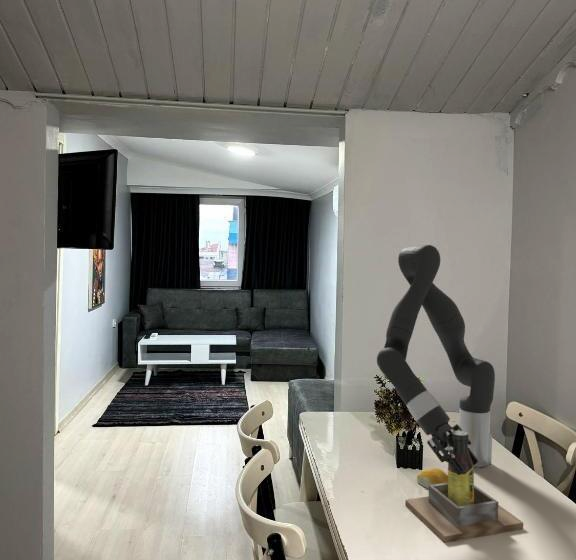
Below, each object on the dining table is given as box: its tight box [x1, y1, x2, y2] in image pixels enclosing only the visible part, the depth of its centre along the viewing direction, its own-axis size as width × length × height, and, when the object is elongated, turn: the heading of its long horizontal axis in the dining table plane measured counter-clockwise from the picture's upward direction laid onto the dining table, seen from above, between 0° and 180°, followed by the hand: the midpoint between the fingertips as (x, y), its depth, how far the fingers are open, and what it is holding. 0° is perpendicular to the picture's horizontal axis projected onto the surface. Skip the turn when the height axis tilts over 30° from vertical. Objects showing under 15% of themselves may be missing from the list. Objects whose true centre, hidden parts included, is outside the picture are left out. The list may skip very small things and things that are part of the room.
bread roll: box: [416, 467, 448, 489], centre depth 149 cm, size 8×9×4 cm
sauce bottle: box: [447, 431, 475, 507], centre depth 130 cm, size 7×6×20 cm
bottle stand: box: [405, 483, 524, 543], centre depth 130 cm, size 22×18×6 cm
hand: (468, 468), depth 128 cm, fingers open, 7 cm apart
